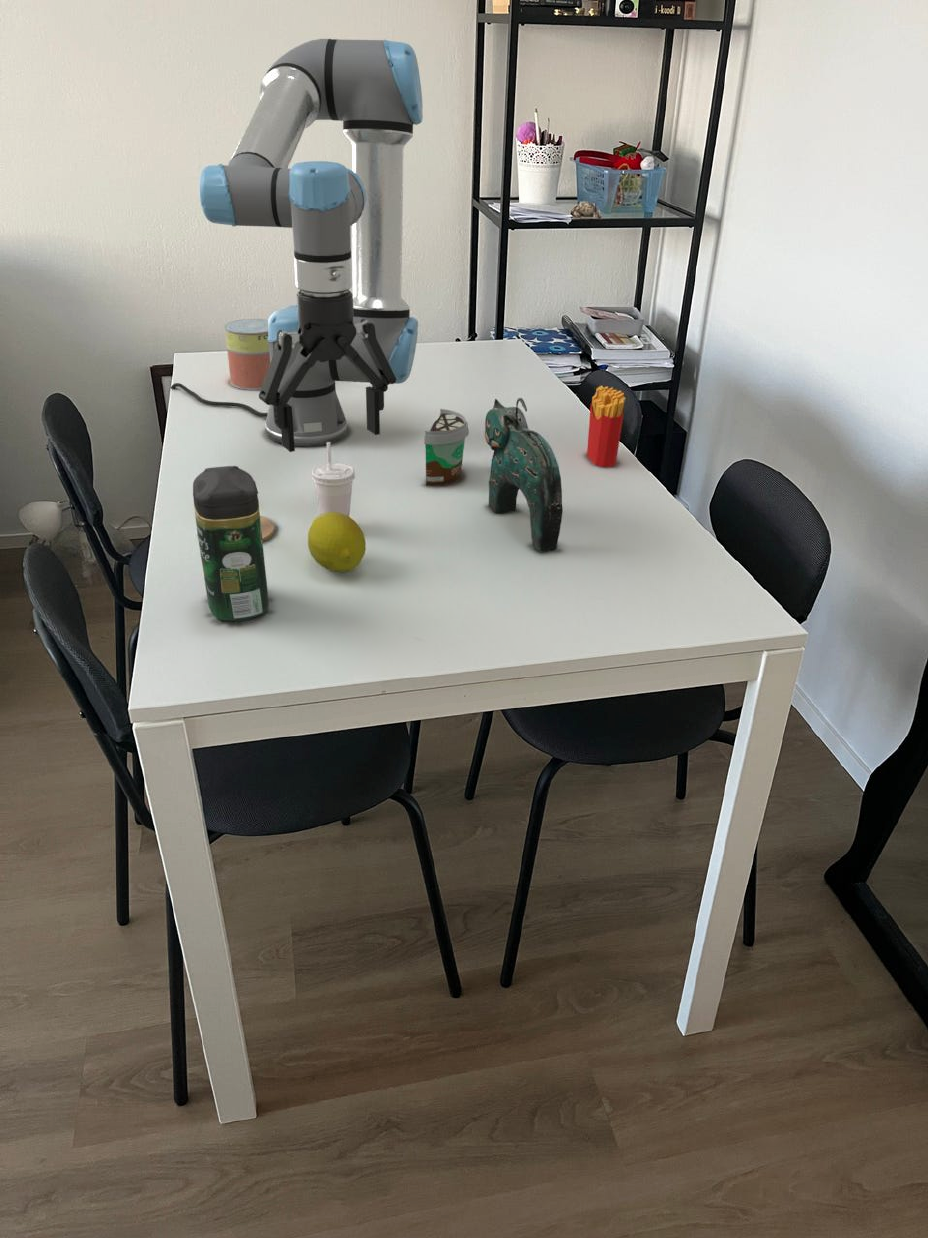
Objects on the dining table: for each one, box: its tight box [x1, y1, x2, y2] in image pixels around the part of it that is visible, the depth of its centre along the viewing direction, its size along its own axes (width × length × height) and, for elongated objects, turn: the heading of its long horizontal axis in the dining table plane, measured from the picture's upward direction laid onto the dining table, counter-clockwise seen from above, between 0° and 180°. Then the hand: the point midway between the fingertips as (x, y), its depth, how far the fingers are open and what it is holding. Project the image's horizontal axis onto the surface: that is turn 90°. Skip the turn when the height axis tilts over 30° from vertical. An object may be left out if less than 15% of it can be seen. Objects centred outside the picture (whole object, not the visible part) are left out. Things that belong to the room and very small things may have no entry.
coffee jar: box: [192, 465, 270, 622], centre depth 121 cm, size 10×8×19 cm
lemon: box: [307, 512, 367, 573], centre depth 133 cm, size 11×8×8 cm
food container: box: [424, 408, 470, 487], centre depth 161 cm, size 12×6×10 cm, turn 168°
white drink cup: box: [311, 442, 356, 517], centre depth 142 cm, size 6×6×14 cm
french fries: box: [586, 385, 626, 468], centre depth 169 cm, size 9×4×13 cm, turn 15°
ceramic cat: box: [484, 397, 564, 553], centre depth 143 cm, size 20×6×20 cm, turn 23°
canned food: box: [224, 318, 270, 391], centre depth 202 cm, size 11×11×12 cm
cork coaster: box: [260, 515, 276, 543], centre depth 144 cm, size 10×10×1 cm
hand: (331, 440), depth 138 cm, fingers open, 13 cm apart
